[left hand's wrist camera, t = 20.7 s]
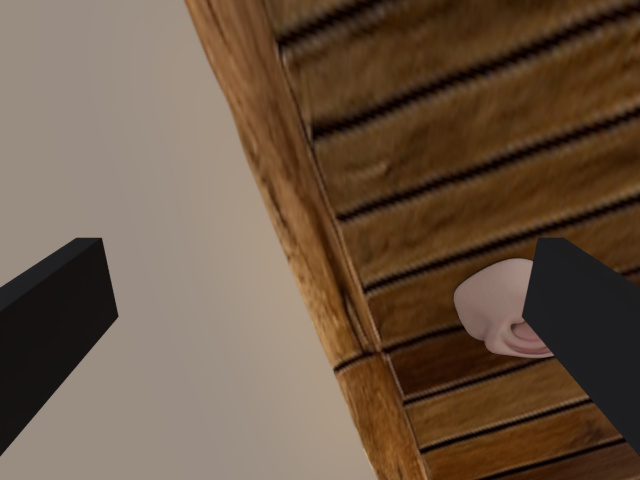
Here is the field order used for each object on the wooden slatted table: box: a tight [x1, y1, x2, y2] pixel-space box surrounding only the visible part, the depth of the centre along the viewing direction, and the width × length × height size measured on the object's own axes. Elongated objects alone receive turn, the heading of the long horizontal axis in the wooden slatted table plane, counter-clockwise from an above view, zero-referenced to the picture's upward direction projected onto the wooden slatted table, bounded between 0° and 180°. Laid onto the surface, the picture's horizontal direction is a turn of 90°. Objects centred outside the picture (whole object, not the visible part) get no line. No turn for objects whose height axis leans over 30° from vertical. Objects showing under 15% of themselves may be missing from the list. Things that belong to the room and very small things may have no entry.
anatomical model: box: [454, 258, 554, 358], centre depth 43 cm, size 13×4×12 cm
